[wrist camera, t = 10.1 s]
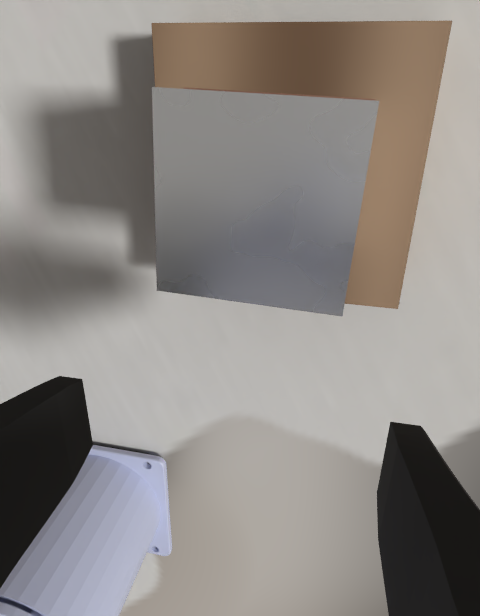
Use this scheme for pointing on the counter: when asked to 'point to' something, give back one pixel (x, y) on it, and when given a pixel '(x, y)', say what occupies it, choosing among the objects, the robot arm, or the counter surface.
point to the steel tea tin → (259, 194)
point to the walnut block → (340, 83)
